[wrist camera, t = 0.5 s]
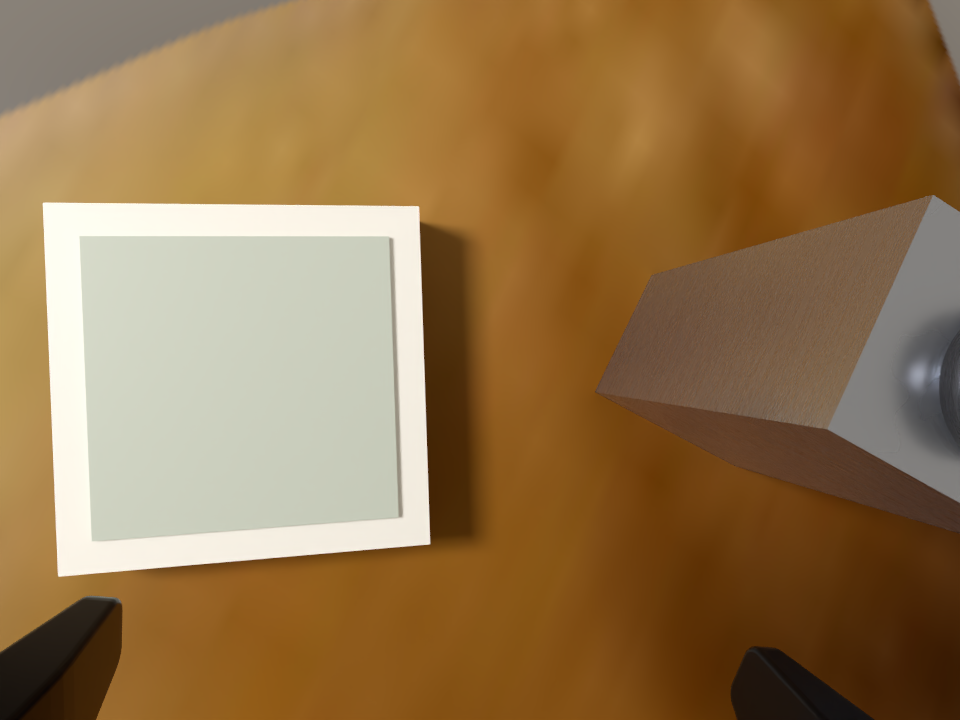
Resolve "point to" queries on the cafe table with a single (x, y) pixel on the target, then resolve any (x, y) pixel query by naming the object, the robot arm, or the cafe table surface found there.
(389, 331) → the plinth
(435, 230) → the cafe table surface
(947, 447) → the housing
